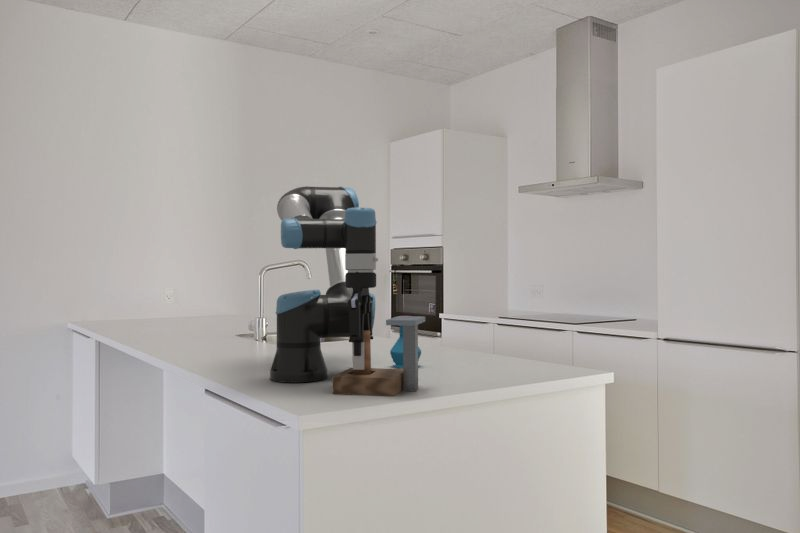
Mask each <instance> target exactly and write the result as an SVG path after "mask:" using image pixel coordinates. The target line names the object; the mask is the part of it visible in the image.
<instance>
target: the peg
mask: <svg viewBox="0 0 800 533" xmlns="http://www.w3.org/2000/svg"><path fill="white" fill-rule="evenodd" d="M363 342H364V365H365V369H364V370H354V369H353V374H361V375H370V374H371V368H372V361H371V360H372V358H371V354H372V352H371V351H372V350H371V348H372V347H371V345H372V344H371V343H372V342H371V339H370V331H369V330H363ZM351 344H352V345H351V346H352V347H351V348H352V349H351V350H352V353H351V354H353V342H351Z"/></svg>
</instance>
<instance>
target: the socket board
mask: <svg viewBox="0 0 800 533" xmlns="http://www.w3.org/2000/svg"><path fill="white" fill-rule="evenodd" d="M402 391H403V368H376V367H375V368H374V367H371V374H370V375H361V374H353V367H349V368H347V369H345V370H343V371H341V372H339V373H337V374H335V375H333V376H332V395H333V394H334V395H355V396H356V395H358V396H359V395H360V396H361V395H362V396H382V397H383V396H385V397H396V396H397V395H398V394H399V393H401V392H402Z"/></svg>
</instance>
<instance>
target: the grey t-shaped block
mask: <svg viewBox="0 0 800 533" xmlns="http://www.w3.org/2000/svg"><path fill="white" fill-rule="evenodd" d="M425 322H426V316H421V315H419V316H412V315H398V316H393V317H391V318H389V319H385V325H386V326H399V325H403V368H402V369H403V390H402V391H403V392H417V391H418V390H419V361H418V347H419V332H418V330H419V325H420V324H423V323H425Z"/></svg>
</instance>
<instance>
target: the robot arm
mask: <svg viewBox="0 0 800 533" xmlns="http://www.w3.org/2000/svg"><path fill="white" fill-rule="evenodd" d="M359 202H360V201H359V197H358V195H357V193H356V191H355V190H354V189H353V188H351V187H344V186H338V187H337V186H334V187H333V186H332V187H330V186H300V187H296V188H293V189H291V190H289V191H287V192H285V193H283V195H282V196H281V197H280V199H279V200H278V201H277V206H276V211H277V212H276V213H277V215H278V218H279V220H281V222H280V244H281V247H282V248H285V249H294V250H299V249H325V254H326V262H327V271H328V272H327V273H328V281H329V287H328V288H327V290H326V292H325V294H322V293H321V291H320V289H311V290H302V291H301V290H300V291H296V292H295V291H294V292H289V293H284V294H280V295H279V296H278V298H277V299H276V310H275V315H276V351H275V354H274V357H273V360H272V364H271V367H270V370H269V374H270V375H269V376H270V378H269V379H270V380H271V381H274V382H277V383H308V382H310V383H311V382H316V381H322V380H325V379H327V378H328V368H327V364H326V362H325V359H324V358H325V357H324V355H323V352H322V349H321V339H328V338H330V339H331V338H348V342H349V343H352V342H353V353H352V368H353V369H354V370H364V369H365V365H364V342H363V330H369V331H370V340H374V335H373V329H374V324H375V317H376V296H375V294H373V293H370V288H371V289H374V288H377V273H376V272H374V271H376V270H377V262H379V261H378V260H379V259H378V257H376V256H377V242H376V241H377V239H376V238H377V236H376V235H377V231H376V230H377V228H376V227H377V220H376V218H377V217H376V211H375V209H374V208H372V207H359V206H360V203H359Z"/></svg>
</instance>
